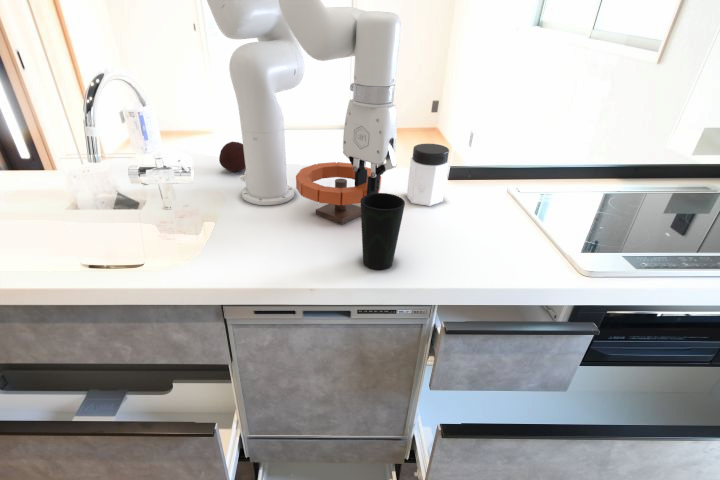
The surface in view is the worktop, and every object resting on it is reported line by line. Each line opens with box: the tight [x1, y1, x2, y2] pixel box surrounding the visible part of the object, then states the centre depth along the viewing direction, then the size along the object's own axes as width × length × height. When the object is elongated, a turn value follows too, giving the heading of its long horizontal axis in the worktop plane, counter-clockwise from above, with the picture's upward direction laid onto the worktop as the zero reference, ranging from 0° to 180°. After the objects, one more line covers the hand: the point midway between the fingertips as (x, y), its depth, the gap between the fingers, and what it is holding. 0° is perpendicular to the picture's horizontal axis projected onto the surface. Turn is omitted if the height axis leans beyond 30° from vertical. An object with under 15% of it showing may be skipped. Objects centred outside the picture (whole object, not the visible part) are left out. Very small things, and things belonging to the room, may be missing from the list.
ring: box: [295, 161, 382, 205], centre depth 97 cm, size 18×18×3 cm
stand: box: [315, 178, 361, 225], centre depth 99 cm, size 8×8×8 cm
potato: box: [218, 141, 246, 173], centre depth 121 cm, size 8×9×8 cm
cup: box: [360, 192, 406, 271], centre depth 80 cm, size 8×8×12 cm
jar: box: [406, 143, 450, 207], centre depth 105 cm, size 9×8×12 cm
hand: (366, 191), depth 93 cm, fingers closed on ring, 2 cm apart
